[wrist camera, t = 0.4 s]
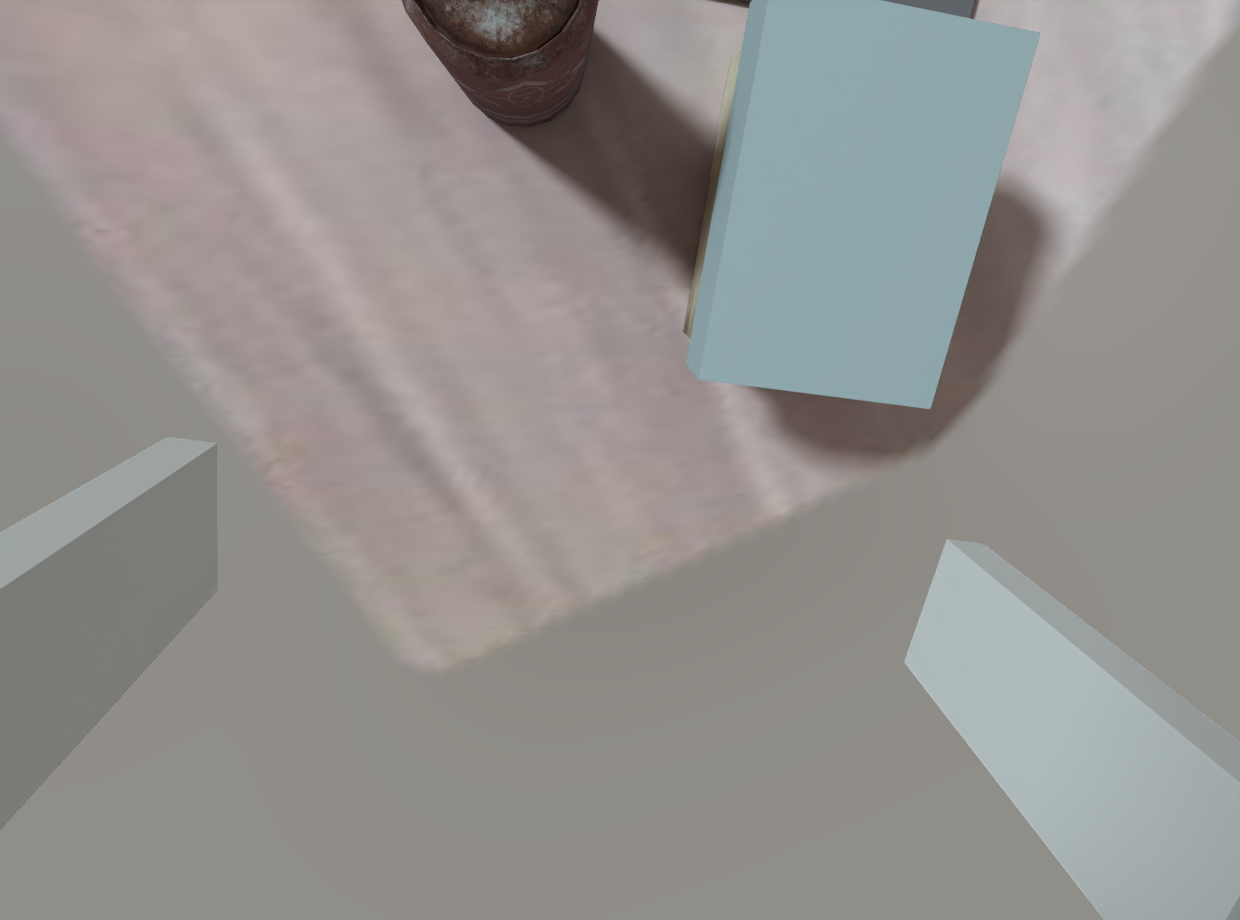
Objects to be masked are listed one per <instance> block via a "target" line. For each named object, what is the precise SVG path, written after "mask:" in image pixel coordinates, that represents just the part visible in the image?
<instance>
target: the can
mask: <svg viewBox="0 0 1240 920" xmlns="http://www.w3.org/2000/svg"><path fill="white" fill-rule="evenodd" d="M402 2H403V5H404V8H405V11H406V13H407V14H408V16H409V17H410V19H411V20H412V22H413V23H414V25H415V26H416V27H417V29H418V30H419V32H420V33H421V35H422V36H423V38H424V39H425V41H426V42H427V44H428V45H429V46H430V48H431V49H432V50H433V52H434V53H435V54H436V56H437V57H438V58H439V60H440V61H441V62H442V64H443V65H444V66H445V68H446V69H447V70H448V71H449V73H450V74H451V75H452V77H453V78H454V79H455V81H456V82H457V83H458V85H459V86H460V87H461V89H462V90H463V91H464V93H465V94H466V95H467V97H468V98H469V99H470V101H471V102H472V103H473V104H474V105H475V106H476V107H477V108H479V109H480V110H481V111H482V112H483V113H485V114H486V115H487V116H488V117H490V118H491V119H494V120H496V121H499V122H502V123H504V124H507V125H509V126H525V127H531V126H534V125H538V124H541V123H544V122H547V121H550V120H551V119H553V118H554V117H555V116H557V115H558V114H559V113H561V112H562V111H563V110H565V109H566V108H567V107H568V105H569V104H570V102H571V101H572V99H573V98H574V97H575V95H576V94H577V92H578V91H579V88H580V84H581V81H582V78H583V75H584V71H585V68H586V63H587V57H588V52H589V47H590V42H591V37H592V31H593V26H594V21H595V16H596V11H597V6H598V0H402Z"/></svg>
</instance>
